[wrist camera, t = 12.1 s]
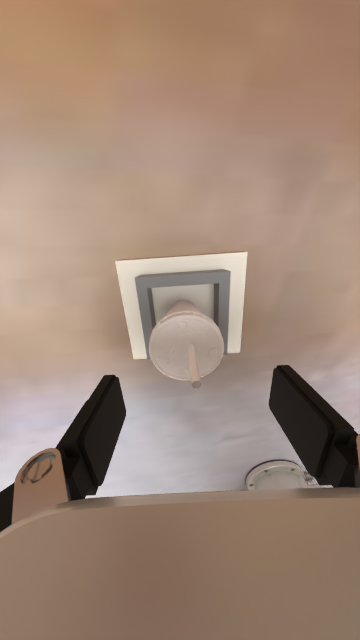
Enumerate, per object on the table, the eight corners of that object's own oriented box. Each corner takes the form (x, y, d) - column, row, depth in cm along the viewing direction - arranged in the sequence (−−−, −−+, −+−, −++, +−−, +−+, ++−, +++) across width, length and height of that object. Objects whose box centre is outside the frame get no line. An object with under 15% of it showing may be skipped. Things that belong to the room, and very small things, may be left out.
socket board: (244, 252, 21) (258, 251, 18) (237, 349, 26) (247, 364, 23) (117, 260, 22) (105, 261, 18) (135, 355, 27) (128, 372, 23)
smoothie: (216, 311, 23) (266, 386, 10) (184, 342, 25) (191, 441, 12) (181, 279, 21) (187, 318, 8) (149, 314, 23) (113, 393, 10)
